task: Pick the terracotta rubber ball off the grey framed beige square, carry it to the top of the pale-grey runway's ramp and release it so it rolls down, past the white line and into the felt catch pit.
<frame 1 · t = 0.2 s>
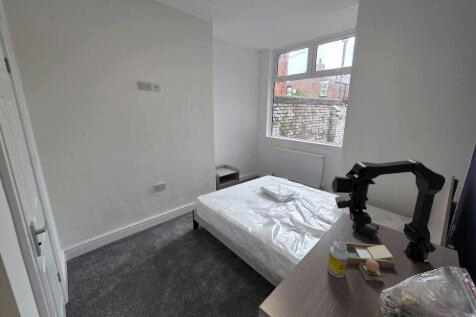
hand: (353, 225, 87), 14 cm above the table, fingers open, 9 cm apart
ball: (372, 265, 78), point 4 cm above the table, touching grey framed beige square
grey framed beige square: (370, 274, 79), on the table
supplement bottle: (336, 271, 81), on the table
end cap: (364, 234, 103), on the table
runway: (365, 256, 88), on the table
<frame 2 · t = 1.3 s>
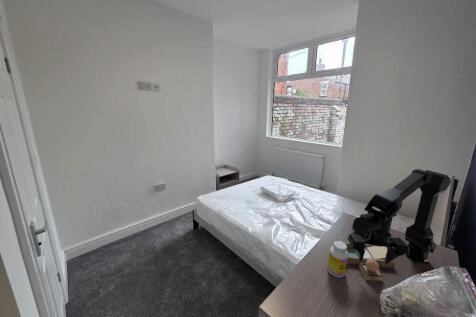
hand: (373, 261, 78), 6 cm above the table, fingers open, 9 cm apart
nothing on the table moved.
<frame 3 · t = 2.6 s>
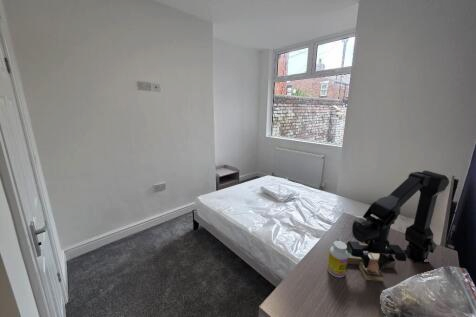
hand: (371, 268, 78), 3 cm above the table, fingers closed on ball, 4 cm apart
ball: (372, 265, 78), point 4 cm above the table, touching gripper, grey framed beige square
everything else where it was.
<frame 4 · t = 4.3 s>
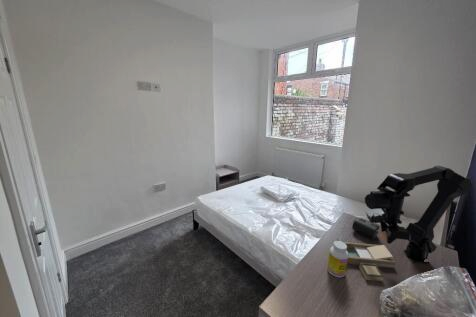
hand: (386, 239, 83), 11 cm above the table, fingers closed on ball, 4 cm apart
ball: (386, 236, 82), point 12 cm above the table, touching gripper
everything else where it was.
when the fingers open (5 cm above the table, at t = 5.8 s): ball drops 5 cm and tips over, resting on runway.
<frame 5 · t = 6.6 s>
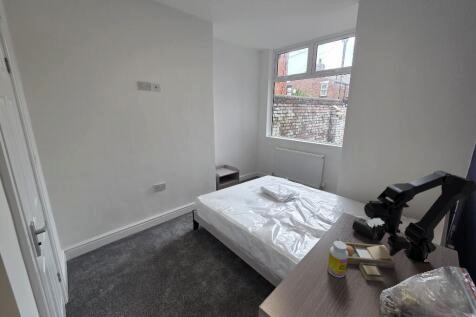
hand: (384, 248, 85), 5 cm above the table, fingers open, 9 cm apart
ball: (348, 250, 88), point 2 cm above the table, tilted 39°, touching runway
everything else where it was.
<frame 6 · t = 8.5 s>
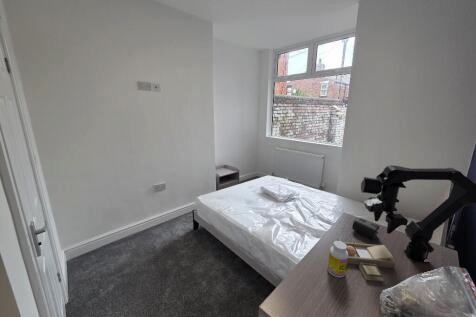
hand: (382, 226, 89), 12 cm above the table, fingers open, 9 cm apart
ball: (350, 250, 88), point 2 cm above the table, tilted 23°, touching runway
everything else where it was.
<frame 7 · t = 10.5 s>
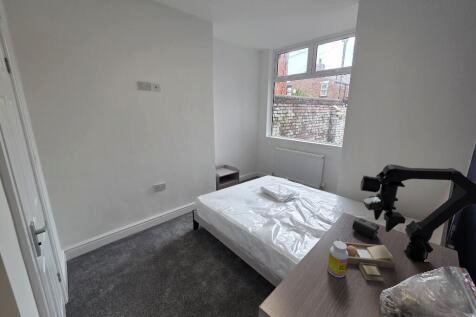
hand: (381, 225, 90), 12 cm above the table, fingers open, 9 cm apart
ball: (351, 251, 88), point 2 cm above the table, tilted 5°, touching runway
everything else where it was.
at the end: ball inside the target area on the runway (0.8 cm from its centre), point 2.4 cm above the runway's base; the gripper is holding nothing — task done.
